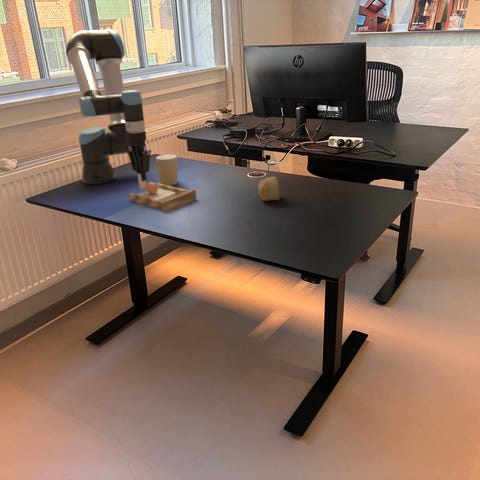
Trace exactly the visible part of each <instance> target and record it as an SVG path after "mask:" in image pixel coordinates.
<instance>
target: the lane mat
mask: <svg viewBox="0 0 480 480" xmlns="http://www.w3.org/2000/svg"><path fill="white" fill-rule="evenodd" d="M136 195H140V196H143V197H147V198H151V199H154V200H158V201H161V202H164V201H165V200H167V199H170V198H172V197H175V196H177V192H174V191H170V190H166V189H162V188H159V187H158V191H157V192H156V193H155V194H149V193H148V192H147V191H146V190H145V191H142V192H140V193H137V194H136Z"/></svg>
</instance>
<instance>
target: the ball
mask: <svg viewBox="0 0 480 480" xmlns="http://www.w3.org/2000/svg"><path fill="white" fill-rule="evenodd" d="M146 184H147V185H146V188H145V191H147V192H148V193H149V194H155V193H156V192H157V191H158V186H157V183H155V182H153V181H149V182H147V183H146Z"/></svg>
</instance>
